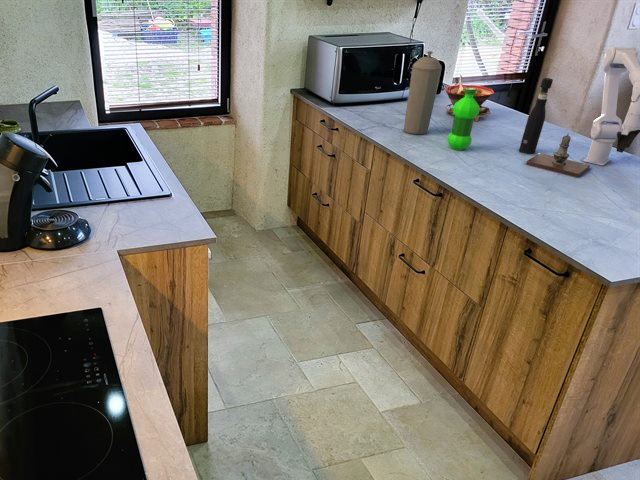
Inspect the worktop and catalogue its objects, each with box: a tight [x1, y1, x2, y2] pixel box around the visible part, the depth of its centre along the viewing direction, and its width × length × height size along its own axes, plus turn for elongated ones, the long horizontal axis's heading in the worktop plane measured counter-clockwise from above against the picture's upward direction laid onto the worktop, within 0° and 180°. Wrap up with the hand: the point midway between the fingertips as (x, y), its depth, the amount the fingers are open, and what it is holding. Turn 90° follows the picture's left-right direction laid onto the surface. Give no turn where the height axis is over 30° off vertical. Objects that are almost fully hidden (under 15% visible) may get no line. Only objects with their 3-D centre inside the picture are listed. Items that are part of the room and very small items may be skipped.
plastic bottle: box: [447, 88, 480, 151], centre depth 249 cm, size 10×10×25 cm
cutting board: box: [526, 152, 591, 178], centre depth 239 cm, size 14×20×2 cm
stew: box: [444, 74, 495, 122], centre depth 298 cm, size 28×24×16 cm
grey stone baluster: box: [552, 133, 572, 165], centre depth 235 cm, size 6×6×12 cm
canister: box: [403, 50, 443, 135], centre depth 266 cm, size 13×13×35 cm
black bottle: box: [518, 77, 554, 155], centre depth 246 cm, size 6×6×30 cm
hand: (622, 149), depth 226 cm, fingers open, 7 cm apart
